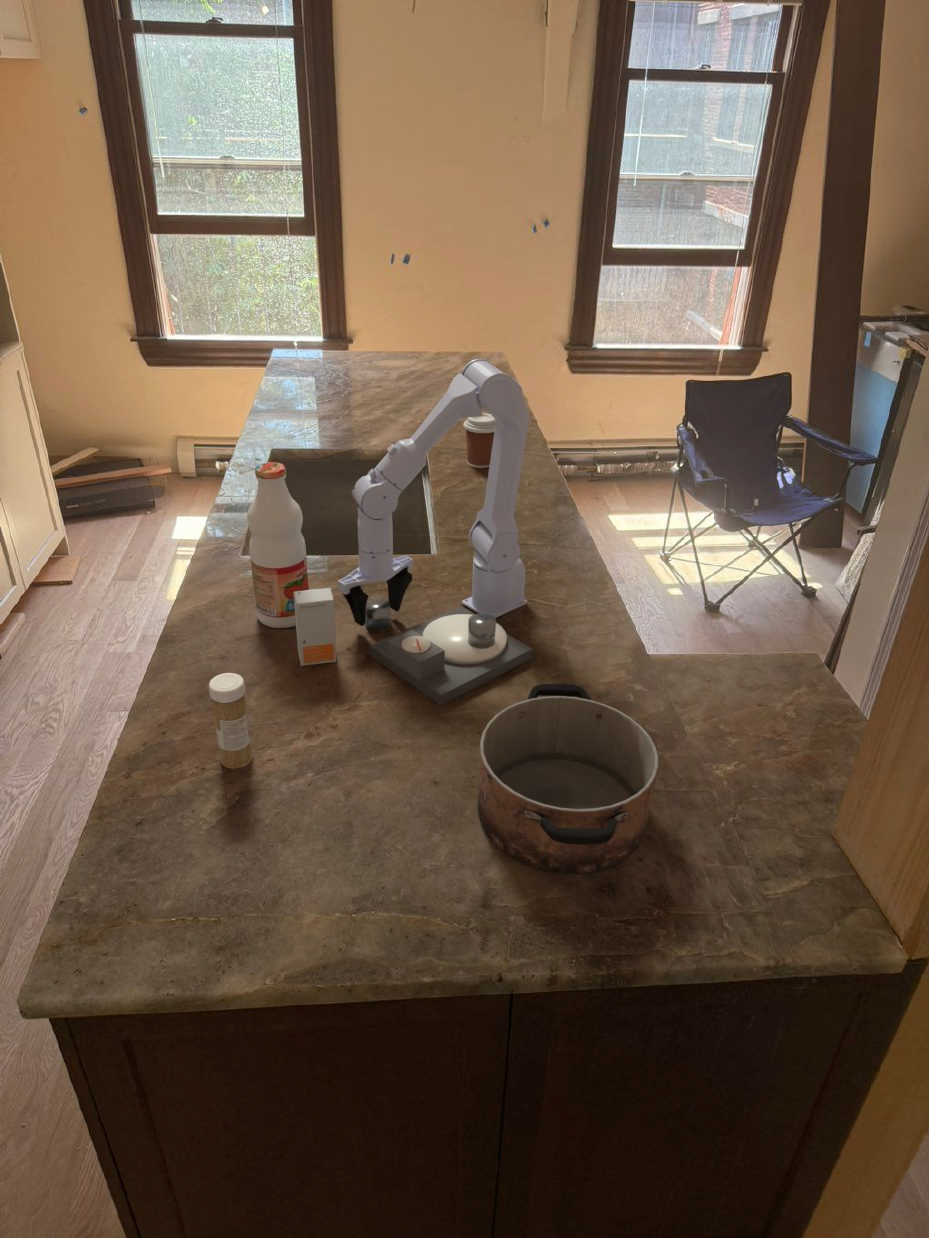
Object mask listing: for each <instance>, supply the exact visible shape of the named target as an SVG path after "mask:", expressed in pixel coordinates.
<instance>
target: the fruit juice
mask: <svg viewBox="0 0 929 1238" xmlns="http://www.w3.org/2000/svg"><path fill="white" fill-rule="evenodd" d="M254 475H255V478H256V480H257V491H256V494H255V499H254V500H253V502H252V503H251V504H250V505H249V506H248V510H247V512H246V523H247V526H248V527H247V528H249V530H250V531H249V532H250V534H251V537H250V539H249V559H250V568H251V575H252V585H253V593H254V602H255V603H254V604H255V612H256V616H257V618H258V620H259V622H260V623H261V624H262V625H263V626H266V627H270V628H274V629H286V628H287V629H288V628H293V627H296V620H295V606H294V593H293V592H295V591H305V590H310V589H309V588H310V587H309V577H308V576H309V574H308V561H307V560H308V558H307V549H306V547H307V546H306V541H305V538H304V536H303V533H302V526H303V523H304V522H303V520H304V519H303V511H302V509H301V507H300V505H299V503H297V501H296V500H295V499H293V497H292V496H291V494H290V492H289V489H288V487H287V483H286V480H285V479H286V477H287V470H286V466H285V465H284V464H283V463H280V462H275V461H274V462H273V461H272V462H264V463H260V464H257V465H256V466H255V469H254Z"/></svg>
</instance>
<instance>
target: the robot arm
mask: <svg viewBox="0 0 929 1238" xmlns="http://www.w3.org/2000/svg"><path fill="white" fill-rule="evenodd" d="M522 390H523V388H522V386H521V385H520V384H519V383H518V382H517V381H516V380H515V379H514V378H513V377H512V376H511V375H509V374H508V373H505V372H503V371H502V370H500V369H499V368H497V367H496V366H495V365H494V364H493V363H492V362H491V361H490V360H488V359H485V358H475V359H472V360H471V361H469V362H467V363H466V364H465V366H464V367H463V369H462V370H461V373H460V372H459V373H458V374H456V376H454V377H453V379H452V380H451V382H450V385H449V387H448V388H447V391H446V392H445V393H444V395H443V396H442V397H441V399H440V400H439V401H438V402H437V404H436V405H435V407H434V408H432V410H431V412H429V414H428V416H427V417H426V418H425V419H424V421H422V423H421V424H420V425H419V427H418V428H417V429H416V431H414V433H413V434H412V436H411V437H410V438H406V439H405V438H404V439H400V440H398V441H397V442H396V443H395V444H393V443H391V444H390V445H389V446H388V447H387V449H386V450H387V454H385V455H384V457H383V458H382V459H381V460H380V462H379V463H378V464H377V465H376V467H374V468H371V469H370V470H369V471H368V473H367V474H366V475H363V476H361V477H360V478H358V480H357V481H356V482H355V485H354V489H352V490H351V494H352V497H353V500H355V502H356V503H357V504H358V506H357V544H358V545H357V546H358V565H357V566H358V567H357V568H356V569H354V570H353V571H351V572H350V573H349V574H347V575H346V576H344V577H343V578H340V579H338V580H337V590H338V591H339V592H340V593H341V594H342V595H343V597H344V598H345V599H346V602H347V603H348V606H349V608H350V611H351V613H352V616H353V620H354V623H356V624H357V625H359V626H360V627H363V626H365V620H366V617H365V609H366V603H367V601H368V599H369V594H367V593H365V592H364V589H363V588H362V586H363V587H364V586H366V585H369V584H374V583H381V582H382V583H383V582H386V585H387V595H388V596H387V598H388V600H387V601H388V602H389V603H390V609H392V610H393V611H395V612H396V613H397V612H399V611H400V609H401V605H402V602H403V599H404V595H405V594H406V591H407V589H408V587H409V586H410V583H412V581H413V573H411V572H409V571H411V570H413V568H414V567H413V566H414V559H413V558H411V557H410V556H408V555H403V556H398V557H394V546H393V545H394V544H393V543H394V541H393V513H394V512H395V511H396V509H397V507H398V503H399V502H398V501H399V497H400V495H401V493H403V491H404V490H405V489H406V488H407V486H409V485H410V484H411V482H412V481H413V480H414V479H415V478H416V477H417V475H418V474H419V473H420V472H421V471H422V469H423V468H424V467H425V466H426V465H427V453H428V452H429V451H430V450H431V449H432V448H433V447H434V446H435V445H436V444H437V443H438V442H439V441H440V440H441V439H442V438H443V437H444V436H445V435H446V434H447V433H448V432H449V431H450V430H451V429H452V428H453V427H454V426H455V425H456V424H457V423H458V422H459V421H460V420H461V419H465V418H468V417H480V416H483V414H482V413H483V412H482V411H481V409H484V411H486V412H488V414H491V415H492V416H493V417H494V419H495V420H496V425H495V432H494V439H493V446H492V453H491V460H490V467H488V473H487V474H488V475H487V481H486V489H485V495H484V502H483V503H484V504H483V507H482V509H480V510H479V511H478V512H477V513H476V519H475V522H474V523H473V525H472V527H471V528H470V530H469V534H468V540H469V543H470V545H471V546H472V547H473V548H474V556H473V561H472V563H473V564H472V583H471V584H472V587H471V588H472V589H471V596H470V597H468V598H465V599H463V600H462V601H461V604H462V605H464V606H465V607H466V608H469V609H470V610H472V611H474V612H475V613H476V614H488V615H491V616H493V617H494V618H495V619H496V618H500V616H501V617H502V616H503V615H505V614H507V613H510V612H512V611H515V610H516V609H518V608H520V607H523V606H524V605H527V602H528V601H527V600H526V599H525V597H524V596H525V587H526V586H525V585H526V584H525V583H526V568H525V565H524V563H523V560H522V559H521V558H520V556H521V547H520V544H519V533H520V531H519V529H518V526H517V522H516V519H515V509H516V504H517V497H518V491H519V486H520V479H521V474H522V469H523V468H522V466H523V462H524V461H523V460H524V455H525V449H526V443H527V437H528V430H529V423H530V412H529V409H528V406H527V404H526V401H525V399H524V396H523V393H522Z"/></svg>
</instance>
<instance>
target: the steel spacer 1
mask: <svg viewBox="0 0 929 1238" xmlns="http://www.w3.org/2000/svg"><path fill="white" fill-rule="evenodd" d="M365 617H366V620H365V625H364V627H365V626H366V627H365V628H366V629H367V628H368V629H369V631H371V630H373V631H372V632H383V631H382V630H384V631H386V629H387V628H388V629H389V628H390V627H391V626H390V625H392V622H391V621H392V619H391V608H390V603H389V600H386V599H383V598H373V599H370V600H367V603H366V609H365ZM368 629H367V630H368ZM388 629H387V630H388Z"/></svg>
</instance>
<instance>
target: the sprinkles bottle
mask: <svg viewBox="0 0 929 1238" xmlns="http://www.w3.org/2000/svg"><path fill="white" fill-rule="evenodd" d="M208 691H209V696H210V698H211V700H212V701H211V702H212V708H213V714H214V715H213V716H214V725H215V731H216V737H217V738H216V739H217V743H218V747H219V755H220V757H219V761H220V764H222V766H224V767H225V768H227V769H241V768H244V767H246V766H248V765H249V764H250V763H251V762H252V760H253V757H254V755H253V754H254V753H253V751H252V745H251V730H250V724H249V723H250V722H249V717H248V708H247V704H246V703H247V702H246V697H245V693H246V686H245V680H244V678H243V677H242V676H241V675H240V674H239V673H234V672H225V673H224V672H223V673H221V674H217V675H215V676H213V677H212V679H210V681H209V683H208Z"/></svg>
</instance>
